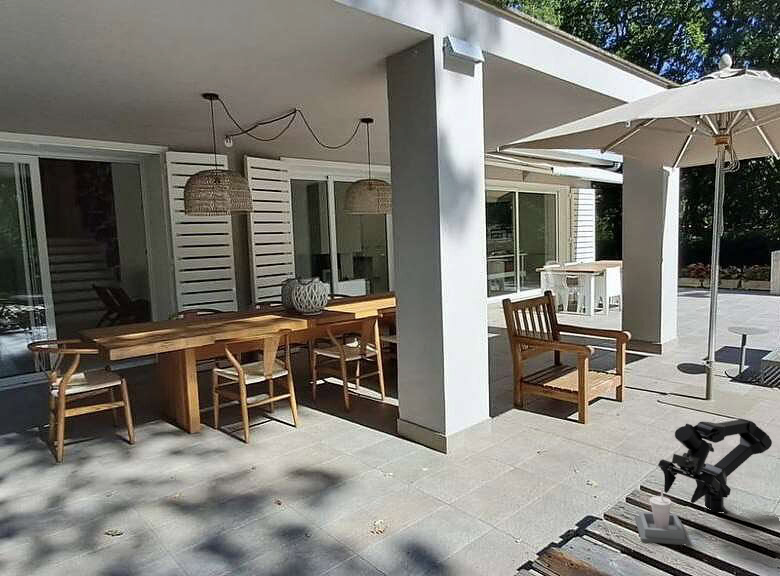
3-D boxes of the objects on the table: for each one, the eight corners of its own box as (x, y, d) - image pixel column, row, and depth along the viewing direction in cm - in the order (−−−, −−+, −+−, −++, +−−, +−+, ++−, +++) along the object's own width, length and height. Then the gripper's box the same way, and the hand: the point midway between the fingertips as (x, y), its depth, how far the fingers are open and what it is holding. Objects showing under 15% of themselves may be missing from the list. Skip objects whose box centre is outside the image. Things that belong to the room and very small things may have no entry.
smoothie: (670, 536, 168) (668, 494, 167) (648, 530, 172) (646, 489, 171) (674, 526, 173) (672, 485, 172) (653, 521, 177) (651, 481, 176)
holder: (634, 518, 181) (634, 509, 181) (680, 522, 177) (679, 512, 177) (641, 541, 168) (641, 531, 168) (690, 545, 164) (690, 534, 163)
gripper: (659, 436, 184) (641, 476, 180) (713, 452, 167) (694, 496, 163) (674, 452, 188) (657, 491, 184) (728, 469, 172) (710, 512, 167)
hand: (678, 497), depth 175 cm, fingers open, 9 cm apart
